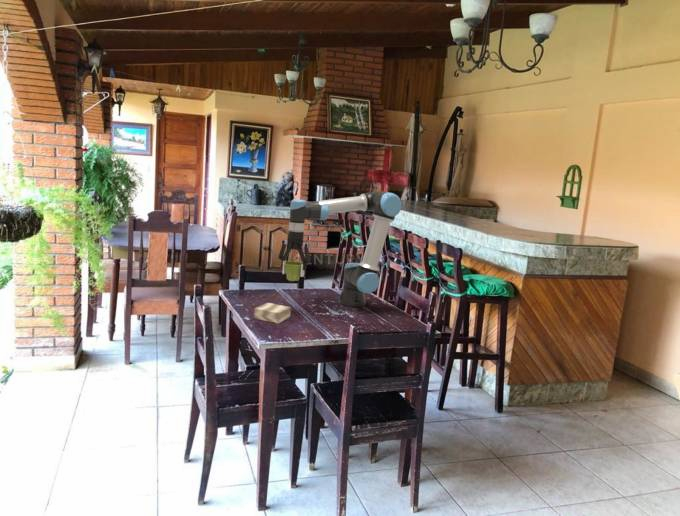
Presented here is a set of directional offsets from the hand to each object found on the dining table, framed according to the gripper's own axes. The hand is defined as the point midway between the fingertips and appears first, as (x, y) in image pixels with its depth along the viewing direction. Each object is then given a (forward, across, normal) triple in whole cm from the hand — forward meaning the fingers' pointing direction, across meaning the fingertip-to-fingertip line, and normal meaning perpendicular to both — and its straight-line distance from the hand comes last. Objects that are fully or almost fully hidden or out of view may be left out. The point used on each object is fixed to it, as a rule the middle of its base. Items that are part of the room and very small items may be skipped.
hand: (293, 274), depth 266 cm
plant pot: (+3, 0, 0) cm, 3 cm away
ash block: (+20, -3, -14) cm, 24 cm away
